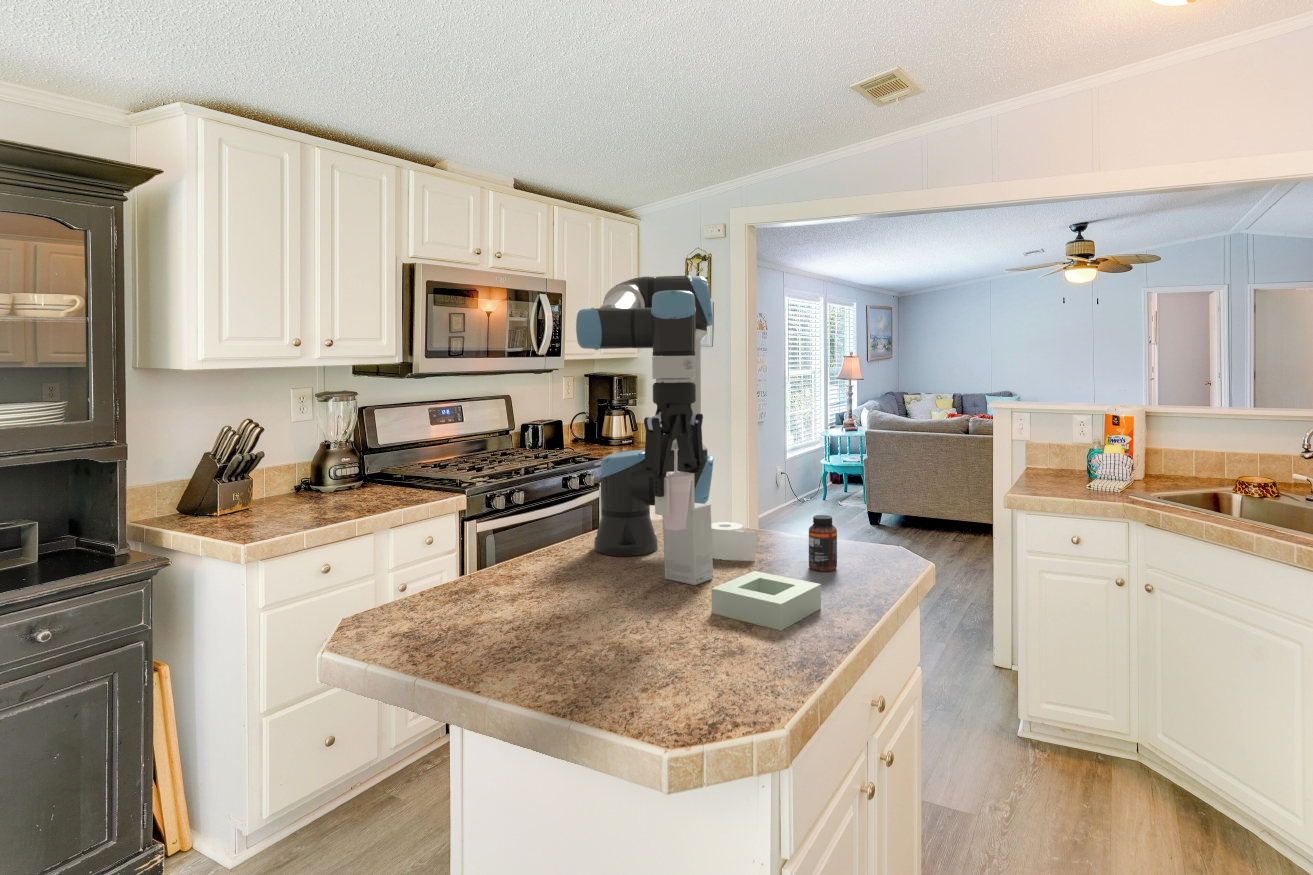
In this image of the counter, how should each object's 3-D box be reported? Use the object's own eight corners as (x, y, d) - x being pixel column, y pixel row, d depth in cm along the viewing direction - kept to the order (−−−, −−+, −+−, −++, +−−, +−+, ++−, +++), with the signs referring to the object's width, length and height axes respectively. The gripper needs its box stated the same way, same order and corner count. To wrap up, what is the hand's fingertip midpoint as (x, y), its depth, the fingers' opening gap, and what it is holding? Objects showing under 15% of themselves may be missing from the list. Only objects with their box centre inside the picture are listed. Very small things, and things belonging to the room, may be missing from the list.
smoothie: (697, 525, 134) (697, 448, 133) (686, 532, 128) (686, 452, 127) (664, 523, 136) (663, 447, 135) (652, 530, 130) (651, 450, 129)
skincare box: (713, 579, 152) (713, 504, 150) (693, 586, 147) (692, 509, 146) (683, 572, 158) (682, 499, 156) (661, 578, 153) (661, 504, 151)
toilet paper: (755, 561, 166) (755, 530, 165) (705, 559, 168) (705, 529, 167) (757, 551, 174) (757, 522, 173) (709, 550, 176) (709, 521, 175)
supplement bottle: (834, 564, 162) (835, 513, 161) (838, 572, 156) (839, 519, 155) (807, 564, 163) (807, 513, 161) (809, 572, 157) (810, 519, 156)
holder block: (711, 613, 132) (711, 588, 131) (754, 593, 142) (754, 570, 142) (780, 630, 123) (781, 603, 122) (820, 608, 133) (821, 584, 133)
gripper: (654, 382, 120) (655, 523, 122) (723, 380, 134) (724, 505, 137) (620, 382, 125) (622, 517, 127) (691, 379, 139) (691, 501, 142)
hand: (675, 511), depth 132 cm, fingers closed on smoothie, 6 cm apart
